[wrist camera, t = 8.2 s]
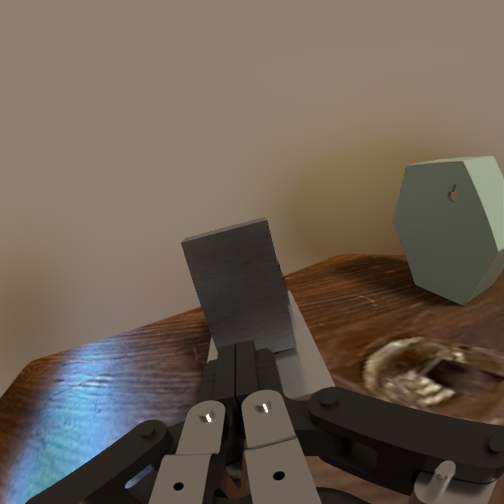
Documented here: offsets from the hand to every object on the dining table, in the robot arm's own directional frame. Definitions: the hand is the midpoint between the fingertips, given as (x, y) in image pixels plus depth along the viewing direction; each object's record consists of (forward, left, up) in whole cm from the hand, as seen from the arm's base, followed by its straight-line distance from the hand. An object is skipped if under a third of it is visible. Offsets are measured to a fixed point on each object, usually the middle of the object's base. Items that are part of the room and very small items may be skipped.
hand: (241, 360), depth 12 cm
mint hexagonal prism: (+17, +29, -12) cm, 36 cm away
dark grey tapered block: (-6, +13, -6) cm, 15 cm away
